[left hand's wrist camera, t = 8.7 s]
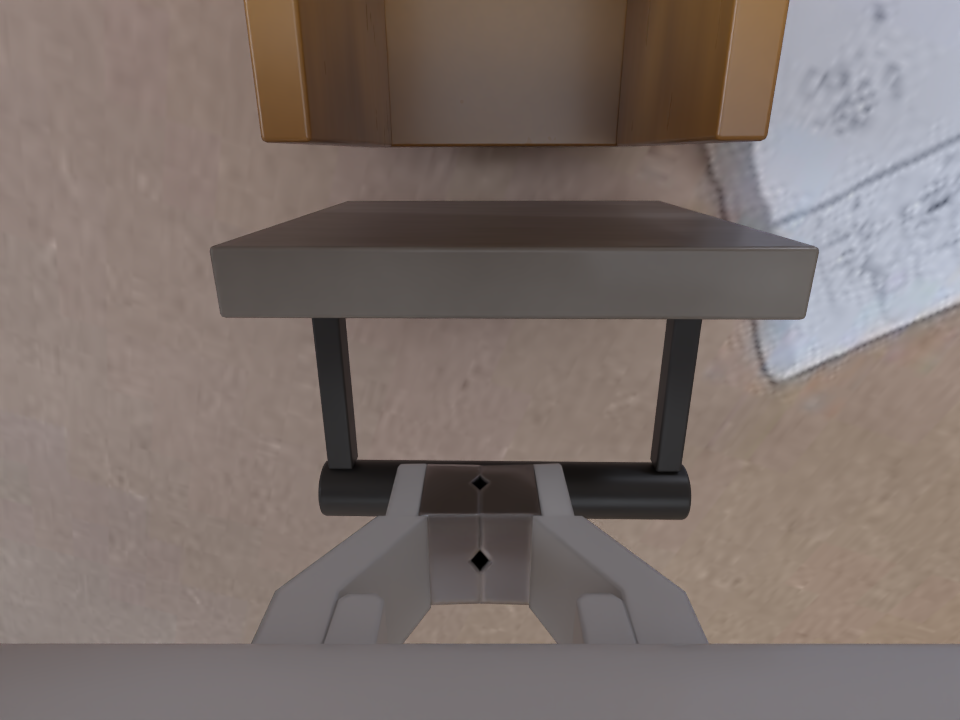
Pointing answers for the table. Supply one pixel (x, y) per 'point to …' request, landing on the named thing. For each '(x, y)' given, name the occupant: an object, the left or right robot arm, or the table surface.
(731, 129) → the drawer
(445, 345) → the table surface
